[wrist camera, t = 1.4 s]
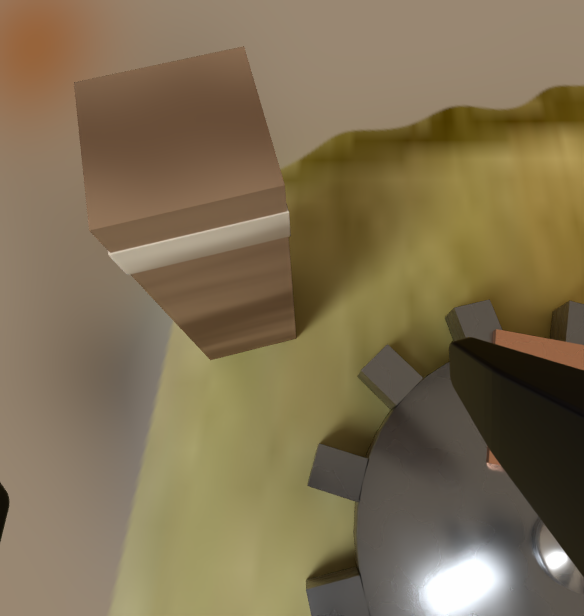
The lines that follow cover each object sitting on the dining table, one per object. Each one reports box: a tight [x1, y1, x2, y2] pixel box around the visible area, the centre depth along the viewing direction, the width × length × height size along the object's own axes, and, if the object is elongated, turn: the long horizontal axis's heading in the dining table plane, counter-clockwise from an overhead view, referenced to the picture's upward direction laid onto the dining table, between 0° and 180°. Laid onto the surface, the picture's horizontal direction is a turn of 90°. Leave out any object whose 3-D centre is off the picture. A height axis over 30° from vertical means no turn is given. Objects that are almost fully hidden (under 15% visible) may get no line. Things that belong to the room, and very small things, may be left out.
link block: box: [74, 46, 296, 360], centre depth 17 cm, size 5×5×13 cm
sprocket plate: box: [306, 300, 584, 616], centre depth 18 cm, size 21×21×2 cm
